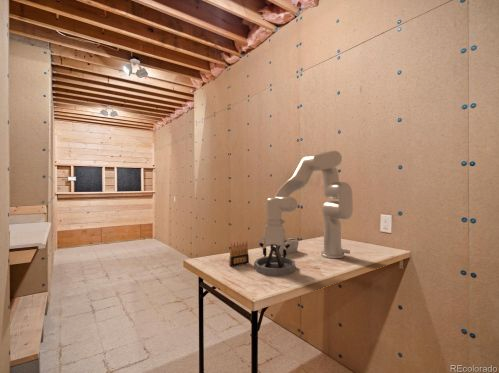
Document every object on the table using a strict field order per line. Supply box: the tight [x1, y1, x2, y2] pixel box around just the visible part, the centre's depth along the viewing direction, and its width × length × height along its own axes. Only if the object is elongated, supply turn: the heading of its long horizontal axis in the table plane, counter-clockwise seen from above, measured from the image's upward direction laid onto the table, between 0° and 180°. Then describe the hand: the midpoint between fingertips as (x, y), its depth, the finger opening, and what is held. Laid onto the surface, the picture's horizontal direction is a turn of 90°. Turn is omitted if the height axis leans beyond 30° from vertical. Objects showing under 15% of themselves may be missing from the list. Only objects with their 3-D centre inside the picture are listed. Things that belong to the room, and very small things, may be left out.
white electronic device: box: [273, 237, 300, 256], centre depth 153 cm, size 17×5×10 cm, turn 129°
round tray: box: [253, 255, 296, 277], centre depth 127 cm, size 20×20×3 cm
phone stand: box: [265, 244, 284, 268], centre depth 127 cm, size 9×6×12 cm, turn 75°
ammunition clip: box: [228, 240, 250, 268], centre depth 133 cm, size 11×2×12 cm, turn 119°
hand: (274, 256), depth 127 cm, fingers open, 9 cm apart
